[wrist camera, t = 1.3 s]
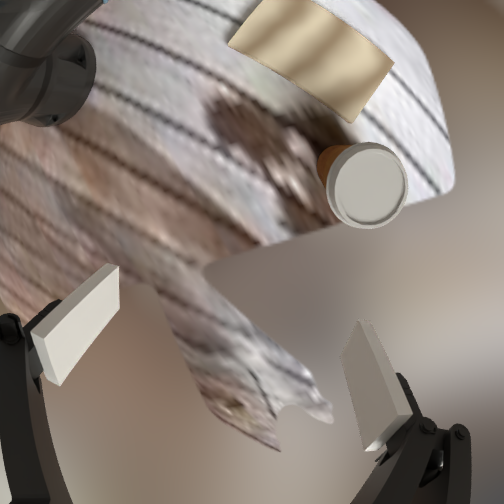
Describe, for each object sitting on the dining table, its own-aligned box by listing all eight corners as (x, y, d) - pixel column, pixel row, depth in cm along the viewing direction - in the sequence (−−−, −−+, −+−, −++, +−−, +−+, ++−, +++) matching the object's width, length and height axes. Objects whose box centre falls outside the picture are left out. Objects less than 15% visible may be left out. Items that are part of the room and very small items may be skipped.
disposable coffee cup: (306, 131, 34) (332, 139, 23) (370, 136, 34) (416, 149, 23) (303, 198, 38) (325, 233, 28) (365, 199, 39) (403, 233, 28)
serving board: (228, 46, 28) (227, 43, 27) (277, -13, 24) (278, -17, 22) (348, 122, 33) (352, 123, 32) (389, 64, 29) (394, 62, 27)
